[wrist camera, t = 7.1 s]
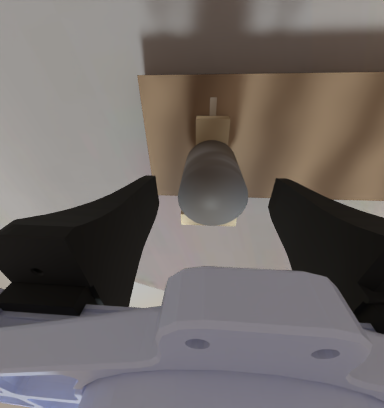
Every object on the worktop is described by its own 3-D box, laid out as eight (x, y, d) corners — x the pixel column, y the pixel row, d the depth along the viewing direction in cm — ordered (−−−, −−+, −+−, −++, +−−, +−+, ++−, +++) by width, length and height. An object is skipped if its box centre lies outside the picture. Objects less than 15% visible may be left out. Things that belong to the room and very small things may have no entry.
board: (439, 71, 14) (473, 70, 12) (368, 190, 19) (384, 201, 17) (145, 75, 15) (137, 75, 13) (158, 185, 20) (154, 195, 19)
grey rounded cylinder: (242, 112, 15) (270, 139, 9) (230, 202, 20) (242, 263, 14) (182, 112, 16) (163, 138, 9) (185, 201, 21) (175, 260, 14)
